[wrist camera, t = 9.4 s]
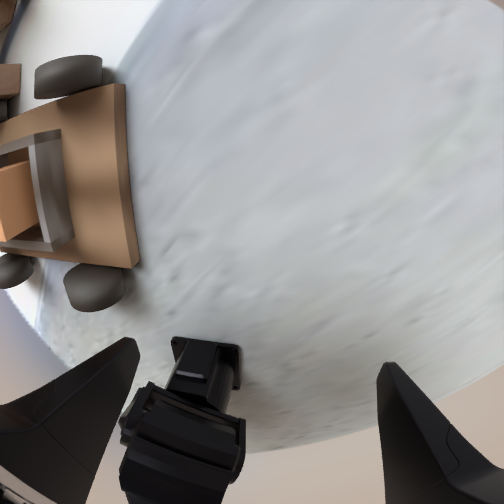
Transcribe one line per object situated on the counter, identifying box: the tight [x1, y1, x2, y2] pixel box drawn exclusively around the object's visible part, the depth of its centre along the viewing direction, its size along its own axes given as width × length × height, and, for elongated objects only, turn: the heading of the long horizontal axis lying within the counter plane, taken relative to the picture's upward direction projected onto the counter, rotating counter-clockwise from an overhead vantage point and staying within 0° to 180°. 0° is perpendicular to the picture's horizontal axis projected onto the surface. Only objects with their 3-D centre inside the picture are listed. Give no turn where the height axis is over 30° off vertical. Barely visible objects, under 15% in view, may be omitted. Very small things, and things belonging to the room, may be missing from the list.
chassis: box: [0, 55, 140, 312], centre depth 18 cm, size 18×20×6 cm
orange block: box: [0, 160, 40, 242], centre depth 17 cm, size 5×5×6 cm
